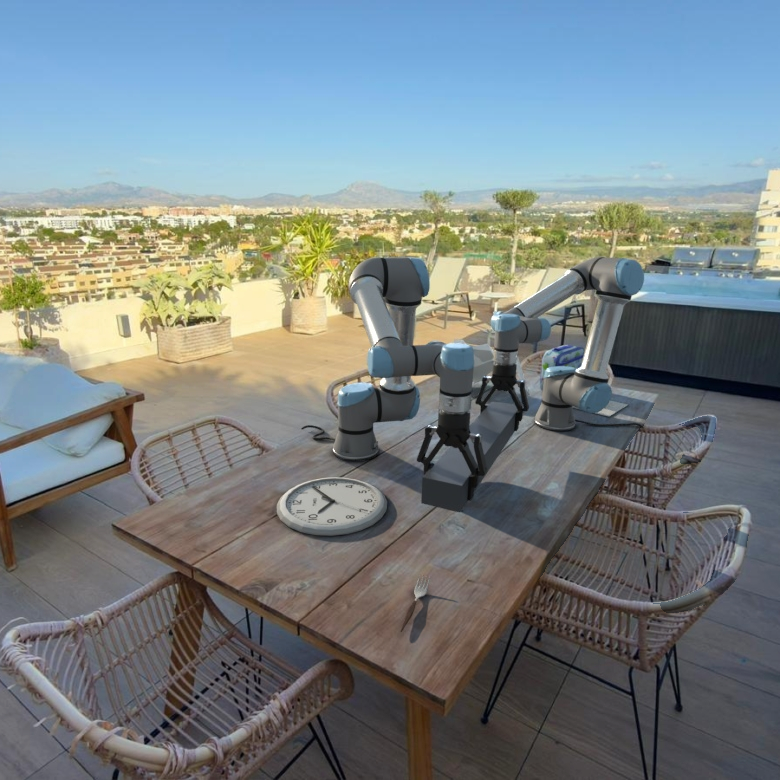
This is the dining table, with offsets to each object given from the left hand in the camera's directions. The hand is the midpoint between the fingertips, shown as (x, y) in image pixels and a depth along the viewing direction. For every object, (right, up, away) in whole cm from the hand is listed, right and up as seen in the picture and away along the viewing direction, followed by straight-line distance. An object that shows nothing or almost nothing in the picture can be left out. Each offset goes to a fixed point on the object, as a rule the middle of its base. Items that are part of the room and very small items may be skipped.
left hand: (449, 493), depth 130 cm
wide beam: (+11, +6, +22) cm, 26 cm away
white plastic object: (+27, +25, +113) cm, 119 cm away
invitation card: (+77, +18, +96) cm, 124 cm away
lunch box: (+66, +26, +119) cm, 139 cm away
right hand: (+22, +13, +45) cm, 52 cm away
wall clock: (-31, -6, +12) cm, 34 cm away
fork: (-10, -18, -25) cm, 33 cm away
